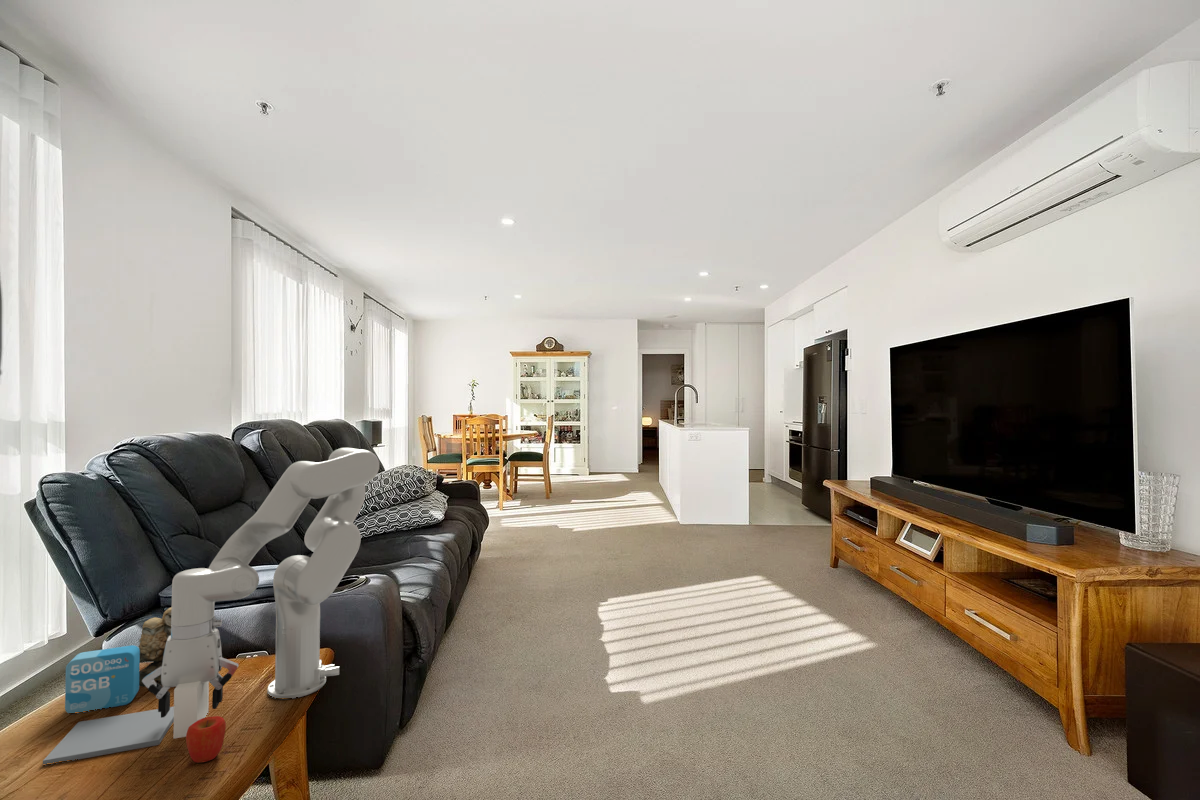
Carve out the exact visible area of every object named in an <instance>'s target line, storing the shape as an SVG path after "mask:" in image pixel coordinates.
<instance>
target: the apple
mask: <svg viewBox="0 0 1200 800" xmlns="http://www.w3.org/2000/svg"><path fill="white" fill-rule="evenodd" d="M226 728H227V723H226V721H225V719H224V717H222V716H220V715H215V716H206V718H202V719H200V720H198V721H197V722H195V723H194V724H192V725H191V726H190V727H189V728H188V731H187V734H186V736H185V743H186V748H187V751H188V753H189V757H190V759H191V760H192V761H193V762H194V763H197V764H199V763H200V764H201V763H205V762H209V761H212V760H214V759H215V758H216V757H217V756H218V754H219V753H220V752H221V750H222V747H223V744H224V740H225V734H226V730H227V729H226Z"/></svg>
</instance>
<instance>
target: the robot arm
mask: <svg viewBox="0 0 1200 800" xmlns="http://www.w3.org/2000/svg"><path fill="white" fill-rule="evenodd" d="M379 470H380V461H379V458H378V457H377V455H376V454H375V453H373V452H372V451H370V450H367V449H363V448H361V449H359V448H353V447H340V448H338V449H337V448H336V449H335V450H333V451H332V452H331V453H330V454H329V456H328V460H324V461H319V462H315V461H309V460H298V461H295V462H293V463H292V464H290V465H289V466H288V467H287V468H286V469H285V471H284V472H283V474H282V475H281V477H280V478H279V479H278V481H277V482H276V484H275V485H274V486H273V488H272V489H271V491H270V492H269V493H268V495H267V497H266V498H265V499H264V501H263V502H262V503H261V505H260V507H259V508H258V509H257V511H256V512H255V513H254V514H253V515H252V516H251V517H250V518H248V520H246V521H245V522H244V523H243V524H242V525H241V526H240V527H239V528H238V529H237V530H236V531H234V533H233V534H232V535H230V536H229V538H228V539H227V540H226V542H225V543H224V544H223V545H222V547H221V548H220V549H219V551H218V552H217V554H216V555H215V557H214V558H213V560H212V561H211V563H210V564H209V566H208V567H207V568H205V567H198V568H191V569H185V570H183V571H182V570H181V571H179V572H177V573H176V574H175V575H174V576H173V578H172V583H171V607H172V611H171V636H169V637H168V639H167V642H166V646H165V650H164V656H163V662H162V666H161V667H159V668H158V669H156V670H155V671H153V672H151V673H150V674H148V675H147V676H145V677H144V678H143V680H142V682H143V683H144V685H145V686H144V687H146V688H147V690H148V692H150V693H151V694H152V695H154V696H155V698H156V699H158V703H157V705H158V707H157V709H158V712H161V718H162V717H165V716H166V715H167V713H168V712H169V710H170V707H171V692H170V691H169V689H170V688H174V687H175V688H176V686H177V685H178V684H184V683H191V682H197V681H201V683H203V682H208V681H209V684H211V686H212V687H214V688H213V690H212V699H211V701H212V705H211V707H212V708H211V709H213V710H217V709H218V706H219V704H220V703H222V702H223V699H224V697H223V696H224V695H223V693H224V692H223V691H224V686H225V685H226V684H227V683H228V682H229V681H231V679H232V677H233V675H235V672H236V671H237V669H238V668H239V663H238V662H235V661H232V660H230V659H227V658H224V657H223V653H222V652H223V651H222V642H221V641H222V640H221V636H220V635H221V634H220V631H219V629H218V627H222V624H223V620H222V619H217V618H216V615H215V607H216V606H215V605H216V604H215V603H216V602H224V601H237V600H241V599H244V598H248V596H250V595H251V594H253V593H254V592H255V591H256V589H257V588H258V586H259V582H260V577H259V573H258V572H257V570H256V569H255V568H253V567H252V566H250V565H249V564H250V563H251V561H252V560H253V559H254V557H255V556H256V554H257V553H258V552H259V551H260V550H261V549H262V548H263V547H264V546H265V545H266V544H268V543H269V542H271V541H273V540H274V539H277V538H278V537H281V536H283V535H285V534H286V533H288V532H289V531H290V530H291V529H293V527H294V525H295V523H296V522H297V520H298V519H299V517H300V515H301V514H302V513H303V511H304V509H305V508H306V507H307V505H308V504H309V503H310V501H311V499H314V500H316V499H318V500H319V499H323V498H326V497H327V499H326V501H325V503H324V504H323V506H322V507H321V509H320V510H319V511H318V513H317V515H316V516H315V518H314V519H313V521H312V522H311V523H310V525H309V527H308V528H307V530H306V531H305V535H304V537H303V538H304V545H305V546H306V548H307V549H308V550H309V551H311V552H313V553H312V554H311V556H308V555H303V554H302V555H301V554H297V555H291V556H288V557H286V558H284V559H283V560H282V561H281V562H280V563H279V564H278V565H277V567H276V569H275V570H274V573H273V579H272V581H273V582H272V583H273V584H272V586H273V594H274V595H273V596H274V600H275V601H274V603H275V660H274V662H275V668H274V672H275V673H274V674H275V676H274V680H272V681H271V682H270V683H269V684H268V686H267V695H268V694H269V695H270V696H272V697H271V698H273V697H275V698H274V699H276V698H292V699H297V698H296V697H298V698H301V697H304V696H308V695H310V694H313V693H315V692H317V691H318V690H320V689H322V688H323V686H325V684H326V682H327V677H334V676H339V675H340V666H335V663H334V664H333V663H331V664H327V665H325V664H323V663H322V661H323V660H322V659H320V648H321V646H320V645H321V641H320V640H321V639H320V638H321V632H320V631H321V603H322V602H325V601H326V600H327V599H328V598H329V597H330V596H331V595H332V594H333V592H334V591H335V590H336V588H337V587H338V585H339V584H340V582H341V581H342V579H343V577H344V576H345V574H346V572H347V571H348V569H349V568H350V566H351V565H352V562H354V559H355V557H356V556H357V553H358V551H359V549H360V546H361V541H362V540H361V539H362V537H361V536H362V535H361V532H360V530H359V527H358V526H357V525H356V524H354V522H355V520H356V519H357V517H358V515H359V513H360V512H361V509H362V507H363V505H364V502H365V499H366V484H367V483H369V482H370V481H372V480H373V479H374V478H375V477H376V475H378V473H379ZM222 668H224V669H227V670H228V671H227V672H226V673H225V674H224V675H223V676H222V675H221V673H219V672H220V671H222ZM159 675H161V684H162V685H159V684H158V682H157V681H156V682H155V681H154V678H156V677H157V676H159ZM269 695H268V696H269ZM270 696H269V697H270Z"/></svg>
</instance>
